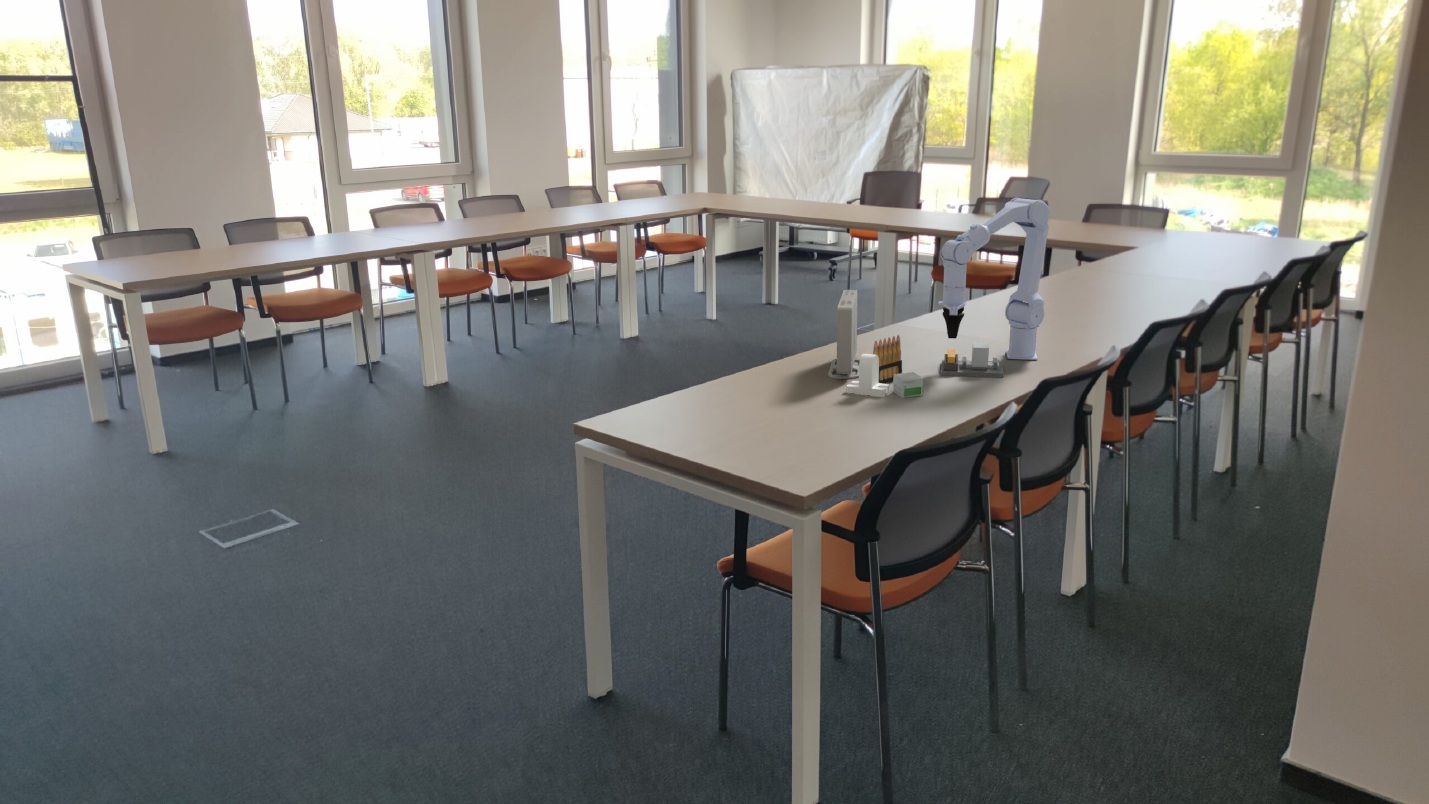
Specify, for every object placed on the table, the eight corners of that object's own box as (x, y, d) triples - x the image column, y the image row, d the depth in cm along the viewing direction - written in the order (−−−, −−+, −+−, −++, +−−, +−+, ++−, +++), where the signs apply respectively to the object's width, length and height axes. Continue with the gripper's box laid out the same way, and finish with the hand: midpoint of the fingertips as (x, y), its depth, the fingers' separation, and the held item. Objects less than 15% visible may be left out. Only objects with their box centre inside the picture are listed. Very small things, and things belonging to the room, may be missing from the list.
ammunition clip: (875, 386, 248) (876, 341, 245) (869, 385, 250) (870, 340, 246) (902, 378, 255) (903, 334, 251) (896, 377, 256) (898, 333, 253)
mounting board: (941, 363, 268) (941, 359, 267) (1001, 365, 264) (1001, 361, 264) (941, 375, 256) (941, 371, 256) (1003, 377, 253) (1003, 373, 252)
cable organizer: (883, 397, 239) (884, 358, 236) (845, 393, 244) (846, 355, 241) (889, 391, 244) (890, 353, 241) (852, 387, 248) (853, 350, 245)
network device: (859, 382, 252) (860, 308, 246) (826, 381, 254) (826, 307, 248) (864, 357, 276) (865, 288, 270) (834, 356, 278) (834, 288, 272)
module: (971, 362, 263) (972, 341, 261) (986, 363, 262) (988, 341, 260) (972, 369, 256) (973, 347, 255) (987, 370, 255) (988, 348, 254)
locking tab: (947, 356, 265) (947, 349, 264) (954, 356, 264) (955, 349, 264) (947, 364, 257) (947, 356, 256) (955, 364, 257) (955, 357, 256)
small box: (902, 398, 238) (903, 379, 237) (892, 392, 244) (892, 373, 242) (923, 396, 240) (924, 377, 238) (912, 389, 245) (913, 371, 244)
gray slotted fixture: (944, 360, 266) (944, 353, 266) (997, 362, 263) (998, 355, 262) (943, 370, 257) (944, 363, 256) (999, 372, 254) (999, 365, 253)
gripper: (939, 280, 262) (937, 329, 266) (938, 291, 249) (936, 341, 253) (966, 281, 261) (963, 329, 265) (966, 291, 247) (964, 342, 251)
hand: (952, 335), depth 259 cm, fingers open, 5 cm apart
